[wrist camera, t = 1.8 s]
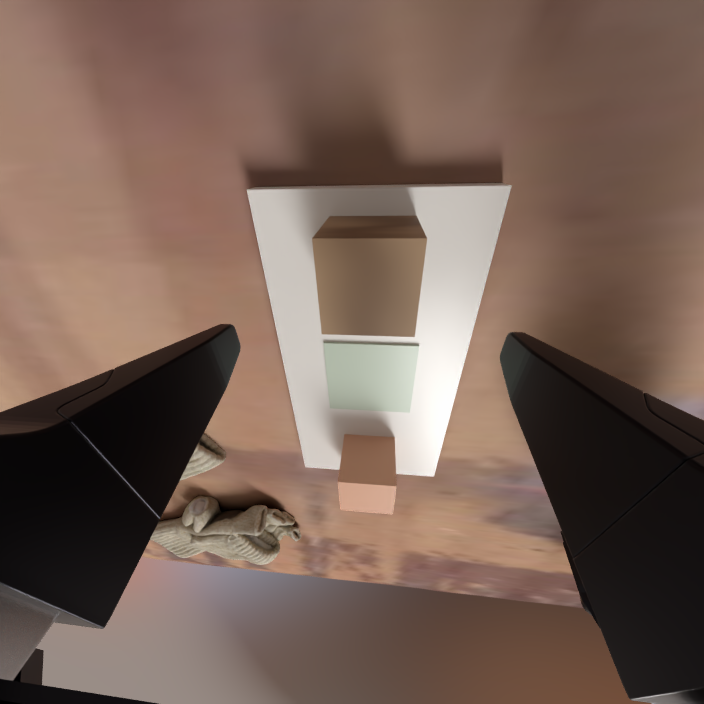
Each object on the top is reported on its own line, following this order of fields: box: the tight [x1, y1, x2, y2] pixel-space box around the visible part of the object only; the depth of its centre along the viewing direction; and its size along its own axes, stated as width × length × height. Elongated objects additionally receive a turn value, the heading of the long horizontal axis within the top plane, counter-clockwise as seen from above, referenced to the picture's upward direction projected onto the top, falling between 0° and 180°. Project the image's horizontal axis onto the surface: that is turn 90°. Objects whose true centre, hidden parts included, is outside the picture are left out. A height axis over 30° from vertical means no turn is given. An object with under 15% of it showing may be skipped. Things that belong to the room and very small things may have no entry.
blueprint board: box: [247, 183, 512, 477], centre depth 22 cm, size 25×13×1 cm, turn 1°
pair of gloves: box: [150, 434, 301, 565], centre depth 36 cm, size 30×26×5 cm
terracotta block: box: [338, 434, 397, 514], centre depth 25 cm, size 4×4×4 cm
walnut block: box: [312, 216, 427, 337], centre depth 14 cm, size 4×4×4 cm
